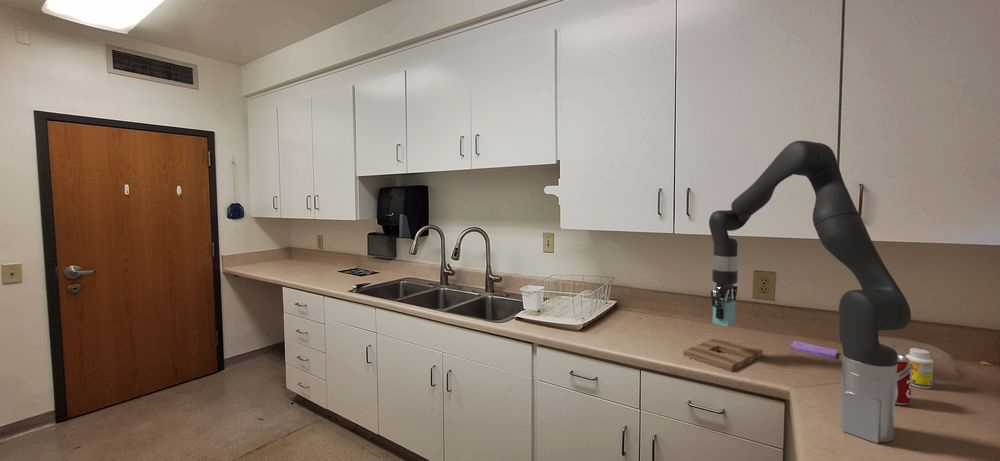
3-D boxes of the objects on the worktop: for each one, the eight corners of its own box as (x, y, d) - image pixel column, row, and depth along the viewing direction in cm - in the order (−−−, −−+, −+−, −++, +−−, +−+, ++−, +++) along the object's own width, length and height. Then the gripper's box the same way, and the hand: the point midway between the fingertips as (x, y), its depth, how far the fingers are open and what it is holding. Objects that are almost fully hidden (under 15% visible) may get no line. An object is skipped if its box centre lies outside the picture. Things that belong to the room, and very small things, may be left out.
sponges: (794, 345, 149) (795, 340, 149) (838, 354, 139) (838, 349, 139) (789, 350, 144) (790, 345, 144) (834, 360, 135) (835, 354, 135)
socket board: (731, 371, 126) (731, 365, 126) (683, 356, 139) (683, 350, 139) (762, 355, 138) (762, 350, 138) (715, 342, 151) (715, 337, 151)
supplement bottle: (899, 379, 119) (901, 345, 118) (924, 382, 117) (926, 348, 116) (910, 387, 114) (912, 352, 113) (936, 390, 111) (938, 355, 111)
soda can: (873, 392, 111) (875, 350, 110) (908, 399, 107) (910, 355, 106) (875, 401, 106) (878, 357, 105) (912, 409, 102) (914, 363, 101)
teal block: (727, 326, 134) (728, 303, 134) (712, 323, 138) (713, 300, 138) (734, 323, 137) (735, 301, 137) (719, 320, 141) (720, 298, 141)
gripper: (725, 272, 129) (724, 323, 130) (746, 267, 137) (745, 316, 139) (703, 269, 135) (701, 318, 137) (724, 265, 144) (722, 311, 145)
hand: (723, 317), depth 138 cm, fingers closed on teal block, 5 cm apart
